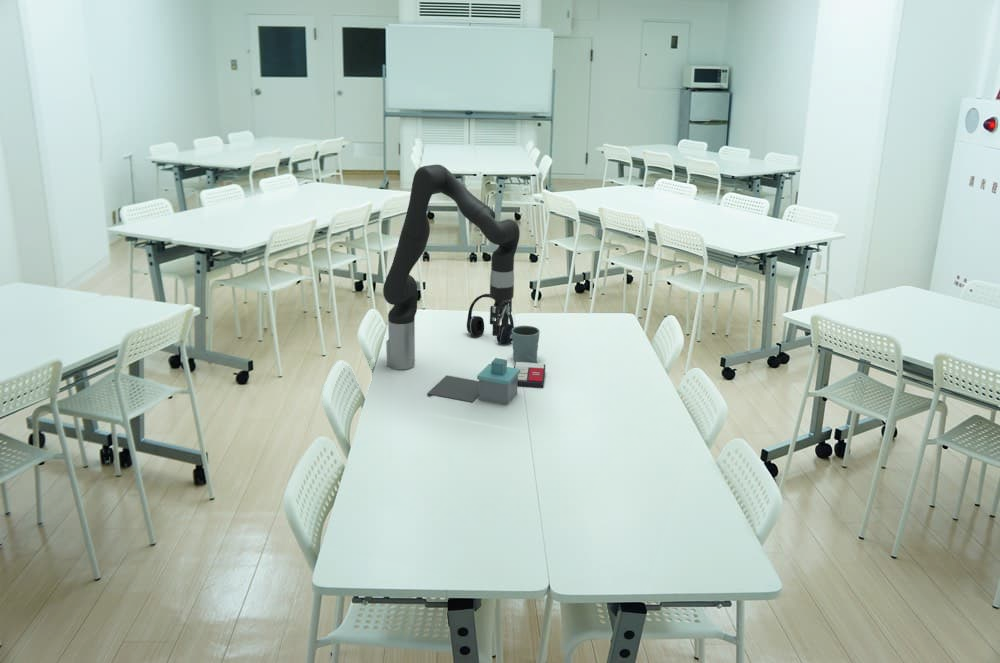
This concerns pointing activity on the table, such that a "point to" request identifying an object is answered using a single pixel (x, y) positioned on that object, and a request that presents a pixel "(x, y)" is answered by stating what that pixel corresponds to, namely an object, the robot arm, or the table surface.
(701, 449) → the table surface
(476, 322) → the headphones
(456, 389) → the mat
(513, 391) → the box
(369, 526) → the table surface
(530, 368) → the calculator
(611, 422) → the table surface
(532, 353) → the grey cup
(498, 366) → the lid
